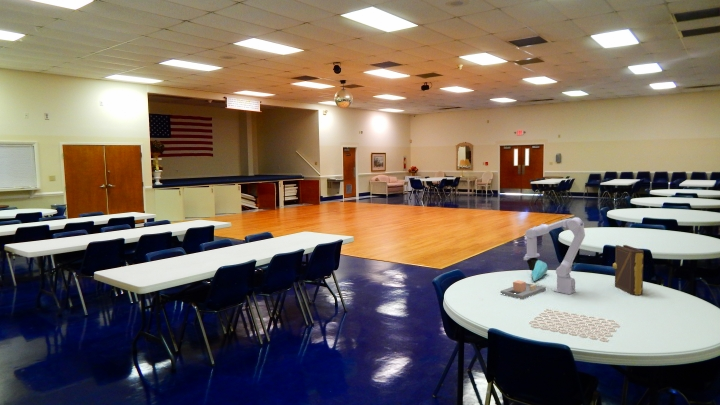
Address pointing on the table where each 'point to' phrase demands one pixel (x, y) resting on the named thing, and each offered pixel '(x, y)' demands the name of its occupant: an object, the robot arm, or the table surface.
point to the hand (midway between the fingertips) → (531, 270)
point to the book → (629, 269)
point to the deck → (528, 292)
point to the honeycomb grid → (571, 328)
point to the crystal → (539, 270)
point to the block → (519, 286)
